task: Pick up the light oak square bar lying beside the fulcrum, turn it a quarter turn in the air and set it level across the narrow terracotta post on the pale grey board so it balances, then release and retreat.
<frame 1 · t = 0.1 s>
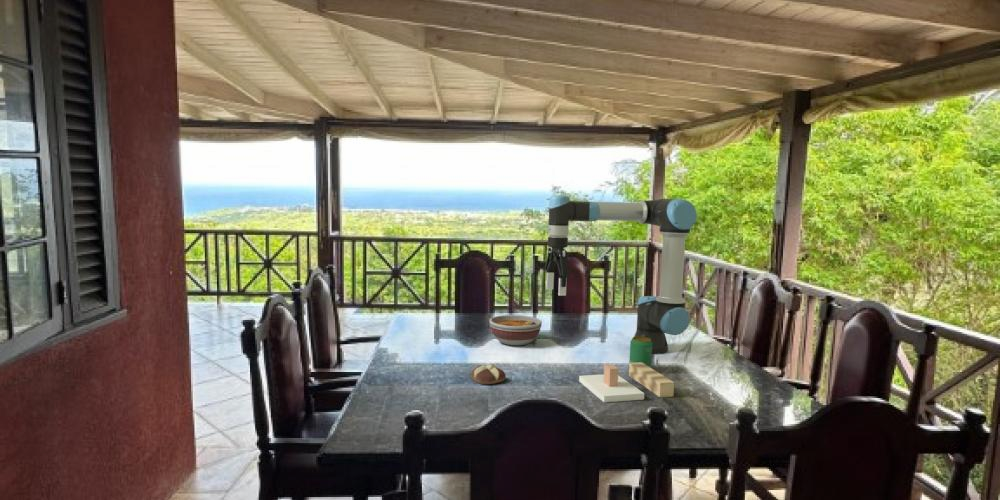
hand: (555, 292, 208), 28 cm above the table, fingers open, 13 cm apart
fulcrum: (610, 390, 184), on the table
beverage can: (639, 370, 206), on the table
bowl: (514, 343, 240), on the table
bread: (488, 381, 190), on the table
oak bar: (649, 386, 190), on the table
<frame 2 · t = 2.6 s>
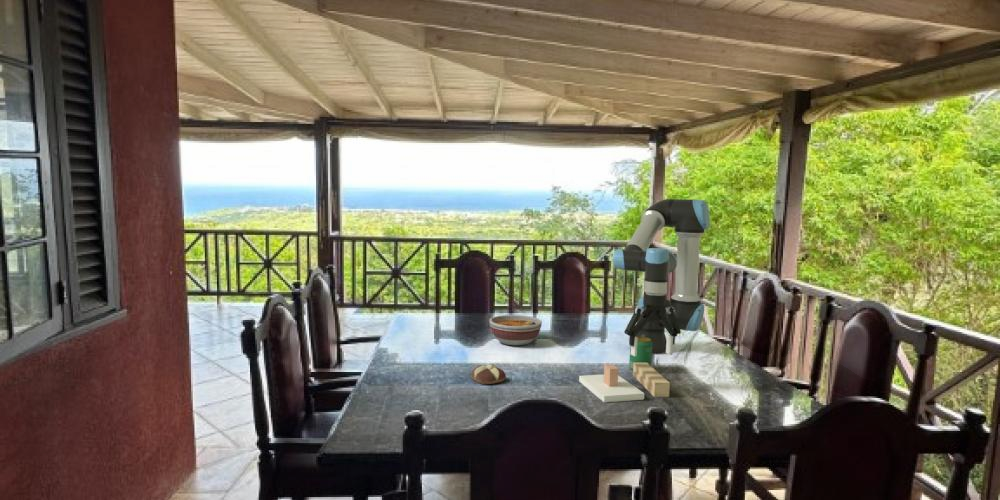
hand: (651, 354, 188), 11 cm above the table, fingers open, 13 cm apart
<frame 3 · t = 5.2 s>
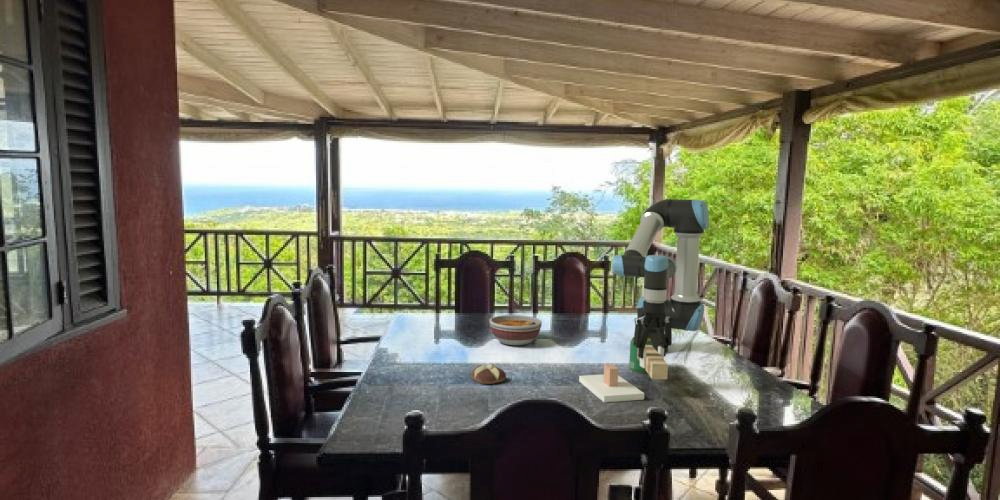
hand: (651, 366, 190), 7 cm above the table, fingers closed on oak bar, 6 cm apart
oak bar: (651, 368, 190), point 6 cm above the table, touching gripper
everything else where it was.
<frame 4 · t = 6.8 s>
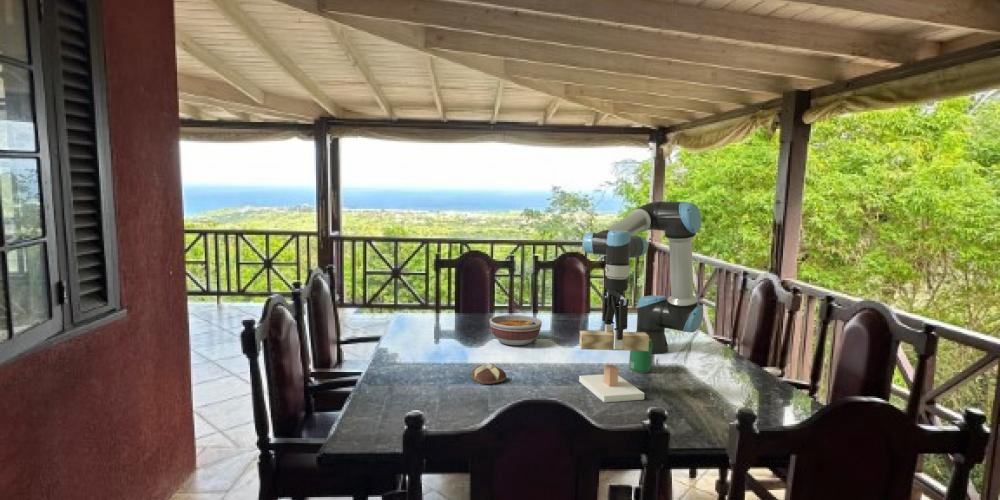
hand: (613, 346, 182), 15 cm above the table, fingers closed on oak bar, 6 cm apart
oak bar: (613, 348, 182), point 14 cm above the table, touching gripper
everything else where it was.
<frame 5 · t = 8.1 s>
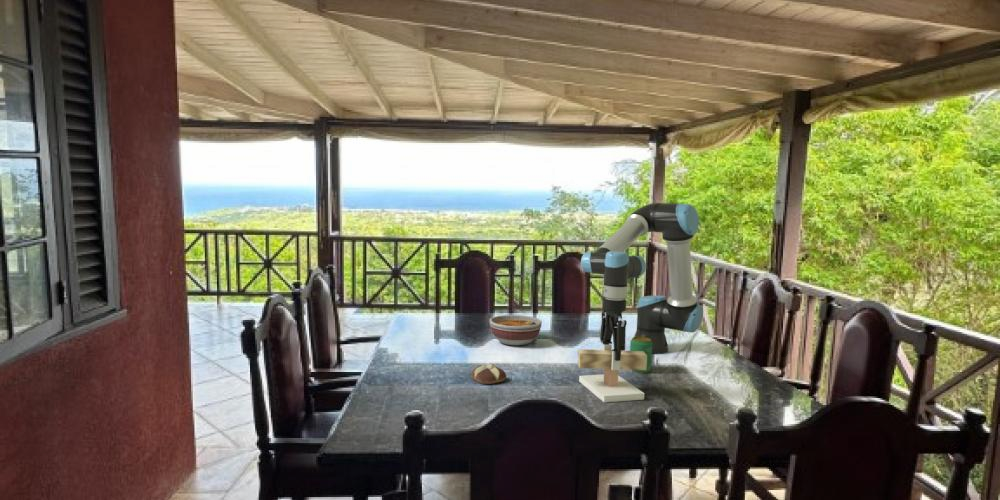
hand: (611, 366, 183), 8 cm above the table, fingers closed on oak bar, 6 cm apart
oak bar: (611, 366, 183), point 8 cm above the table, touching fulcrum, gripper
everything else where it was.
when the fingers open (8 cm above the table, at t = 8.5 s): oak bar stays where it is, resting on fulcrum.
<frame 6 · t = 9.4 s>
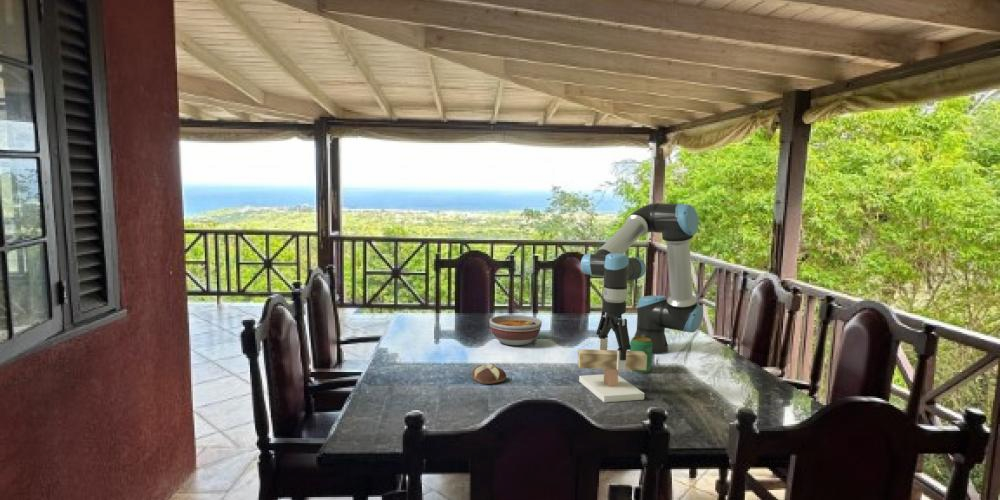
hand: (611, 363, 183), 9 cm above the table, fingers open, 13 cm apart
oak bar: (611, 366, 183), point 8 cm above the table, touching fulcrum
everything else where it was.
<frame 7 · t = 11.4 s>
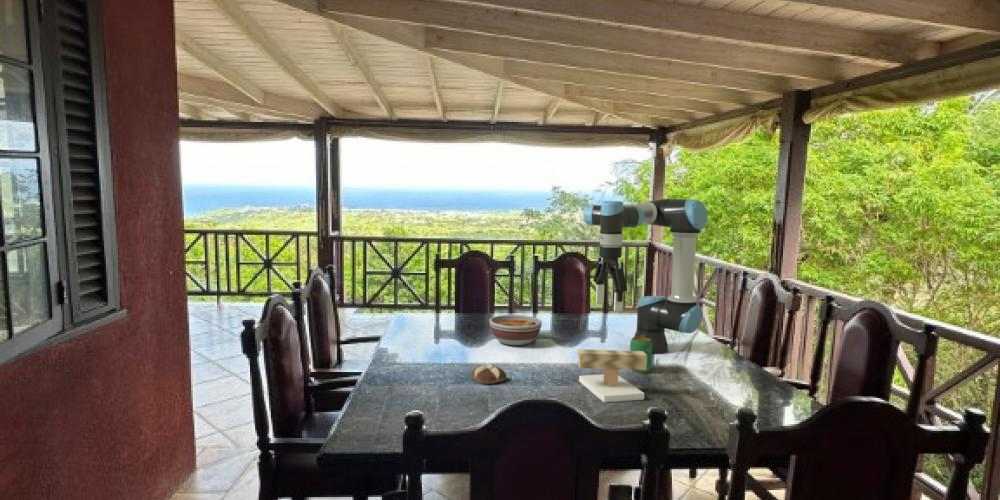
hand: (608, 306, 190), 27 cm above the table, fingers open, 13 cm apart
nothing on the table moved.
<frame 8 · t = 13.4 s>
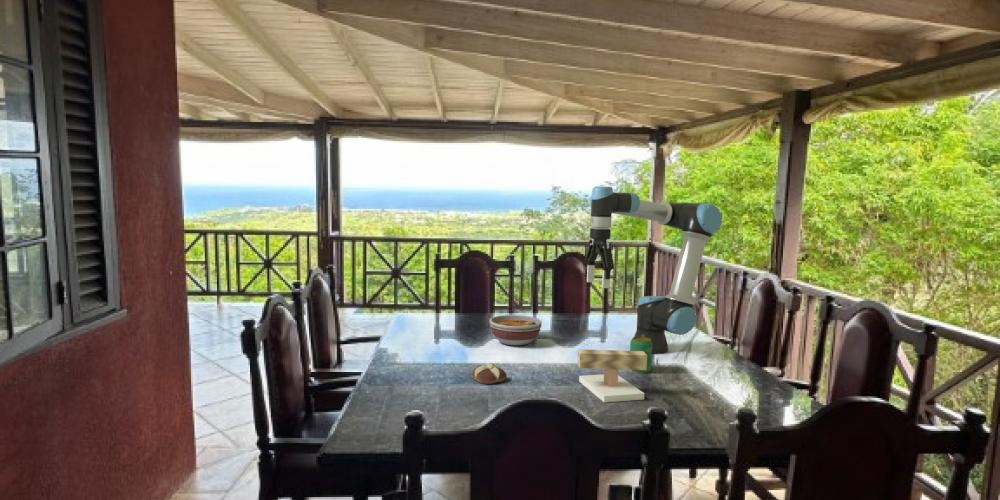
hand: (597, 284, 205), 32 cm above the table, fingers open, 13 cm apart
nothing on the table moved.
at the end: oak bar 0.1 cm off-centre on the fulcrum, point 8.0 cm above the fulcrum's base; oak bar tilted 0°; oak bar touching fulcrum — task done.
